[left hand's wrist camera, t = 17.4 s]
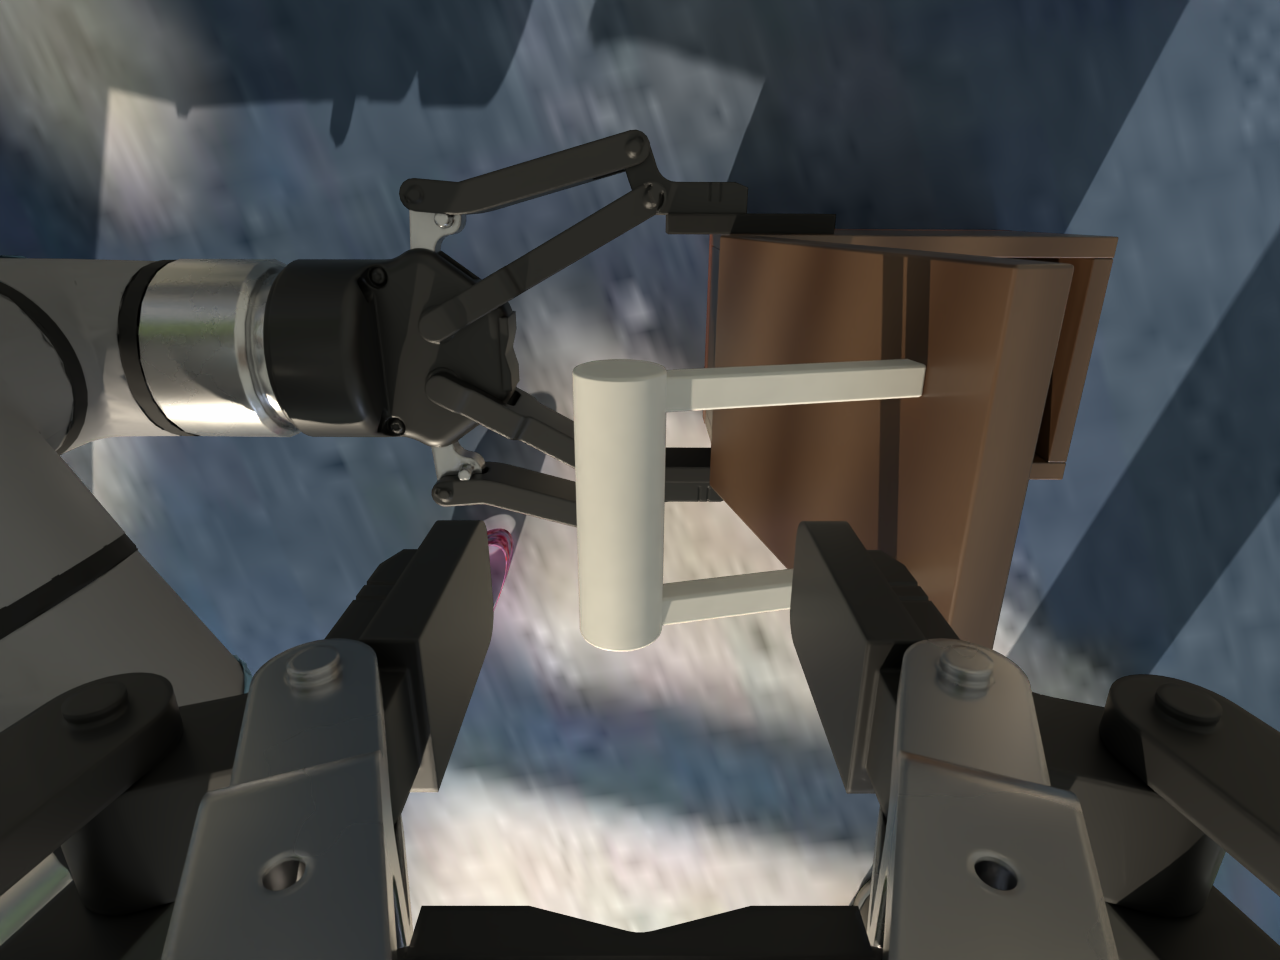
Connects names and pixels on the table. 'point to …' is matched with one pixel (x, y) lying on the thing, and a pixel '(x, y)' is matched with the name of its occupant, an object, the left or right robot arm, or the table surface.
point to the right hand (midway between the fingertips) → (814, 351)
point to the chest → (1077, 250)
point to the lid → (828, 428)
